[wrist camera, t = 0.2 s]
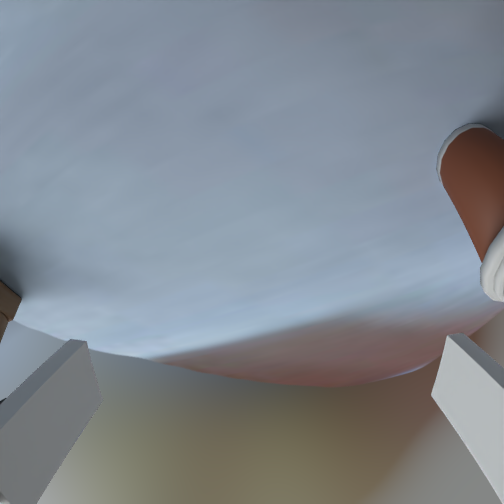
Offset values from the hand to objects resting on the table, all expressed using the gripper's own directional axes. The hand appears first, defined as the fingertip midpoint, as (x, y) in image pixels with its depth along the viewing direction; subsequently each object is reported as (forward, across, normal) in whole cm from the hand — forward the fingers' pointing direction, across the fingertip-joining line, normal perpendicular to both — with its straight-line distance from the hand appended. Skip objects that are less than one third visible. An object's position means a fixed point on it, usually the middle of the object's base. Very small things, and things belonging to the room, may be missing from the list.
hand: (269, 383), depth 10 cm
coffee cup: (+12, +16, +9) cm, 22 cm away
